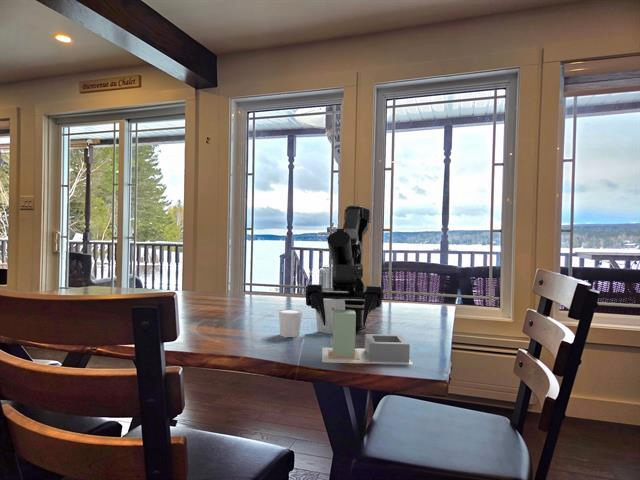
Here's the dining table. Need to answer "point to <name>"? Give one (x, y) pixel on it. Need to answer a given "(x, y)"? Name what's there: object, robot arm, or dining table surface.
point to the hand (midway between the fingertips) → (344, 325)
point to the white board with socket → (375, 351)
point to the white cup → (290, 323)
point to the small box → (329, 314)
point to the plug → (344, 333)
